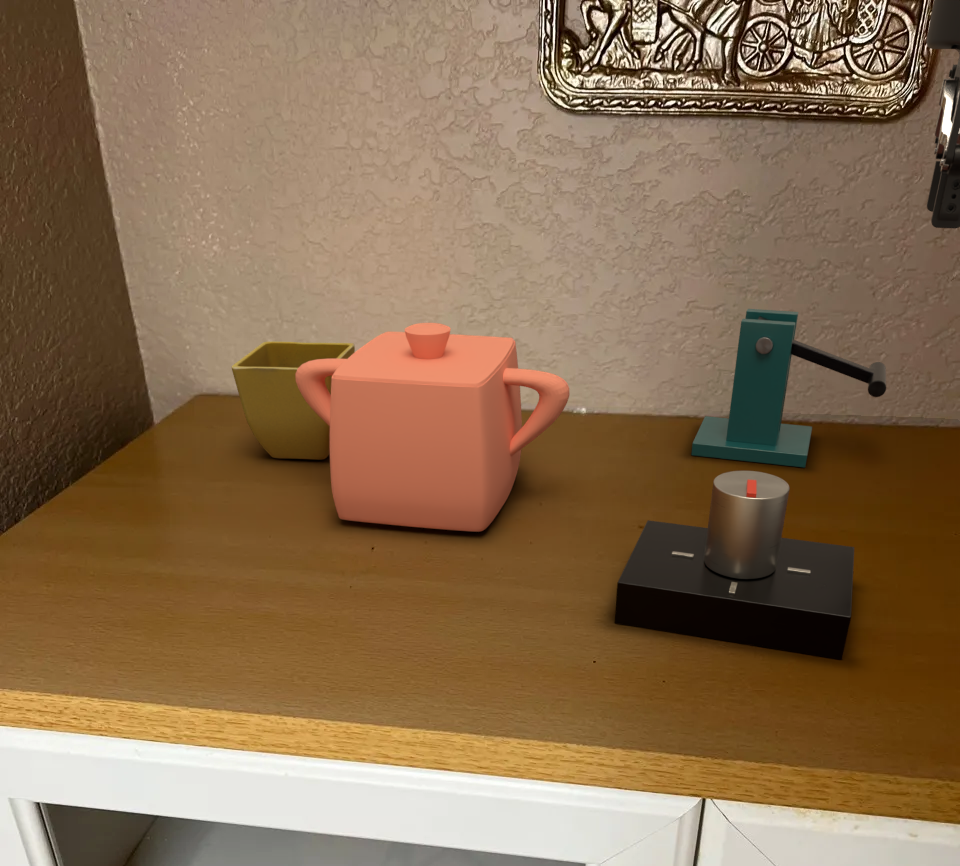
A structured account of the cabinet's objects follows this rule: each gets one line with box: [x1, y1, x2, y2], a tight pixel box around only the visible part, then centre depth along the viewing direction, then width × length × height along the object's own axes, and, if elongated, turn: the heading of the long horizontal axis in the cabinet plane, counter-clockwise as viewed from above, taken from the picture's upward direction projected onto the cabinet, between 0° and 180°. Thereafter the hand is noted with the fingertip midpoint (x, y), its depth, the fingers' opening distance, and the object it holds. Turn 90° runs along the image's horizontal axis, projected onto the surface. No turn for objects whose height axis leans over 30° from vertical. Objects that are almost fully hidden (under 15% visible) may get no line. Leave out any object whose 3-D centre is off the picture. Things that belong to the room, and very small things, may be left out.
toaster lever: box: [758, 316, 887, 398], centre depth 85 cm, size 12×6×2 cm, turn 71°
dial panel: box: [614, 519, 855, 660], centre depth 64 cm, size 14×10×3 cm
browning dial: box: [704, 470, 790, 579], centre depth 62 cm, size 5×5×6 cm
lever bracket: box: [690, 308, 813, 468], centre depth 88 cm, size 10×8×12 cm
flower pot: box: [231, 341, 356, 461], centre depth 88 cm, size 9×9×9 cm
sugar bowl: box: [295, 322, 570, 533], centre depth 80 cm, size 20×22×14 cm
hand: (942, 219), depth 77 cm, fingers open, 8 cm apart
